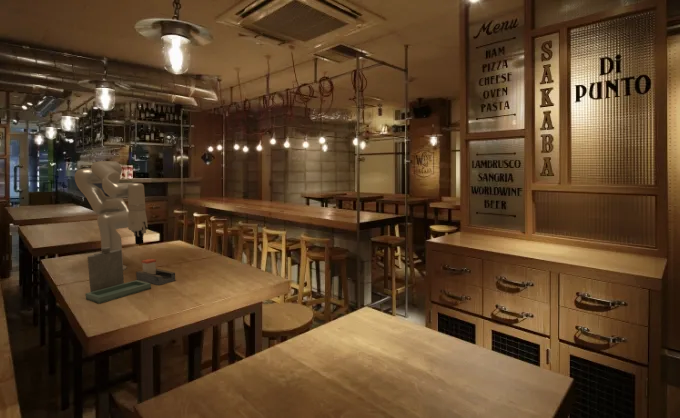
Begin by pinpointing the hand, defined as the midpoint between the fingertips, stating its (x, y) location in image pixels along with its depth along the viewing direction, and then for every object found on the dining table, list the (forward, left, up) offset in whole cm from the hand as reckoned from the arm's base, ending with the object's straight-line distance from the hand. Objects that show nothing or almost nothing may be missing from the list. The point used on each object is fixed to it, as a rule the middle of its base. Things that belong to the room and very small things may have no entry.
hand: (139, 243), depth 203 cm
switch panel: (+12, 0, -17) cm, 21 cm away
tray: (+17, -21, -17) cm, 32 cm away
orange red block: (+7, 0, -15) cm, 16 cm away
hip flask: (+8, -21, -17) cm, 28 cm away
